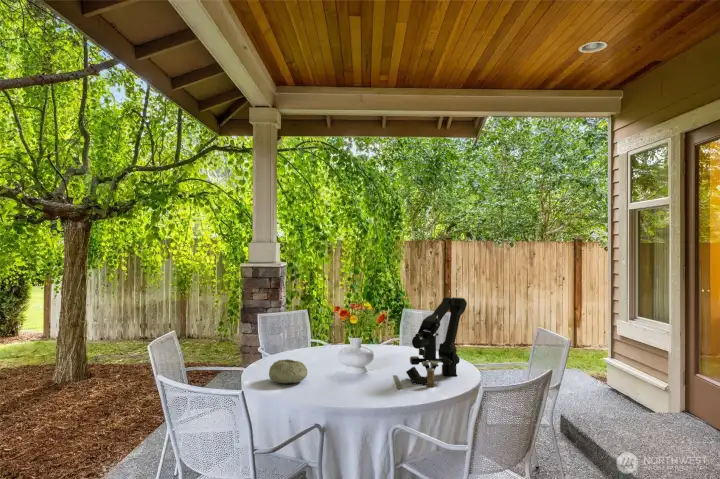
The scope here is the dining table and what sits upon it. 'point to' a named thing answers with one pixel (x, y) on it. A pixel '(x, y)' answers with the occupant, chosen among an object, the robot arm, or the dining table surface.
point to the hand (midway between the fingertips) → (429, 378)
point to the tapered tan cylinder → (430, 377)
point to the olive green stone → (287, 371)
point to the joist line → (397, 382)
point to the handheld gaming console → (416, 377)
